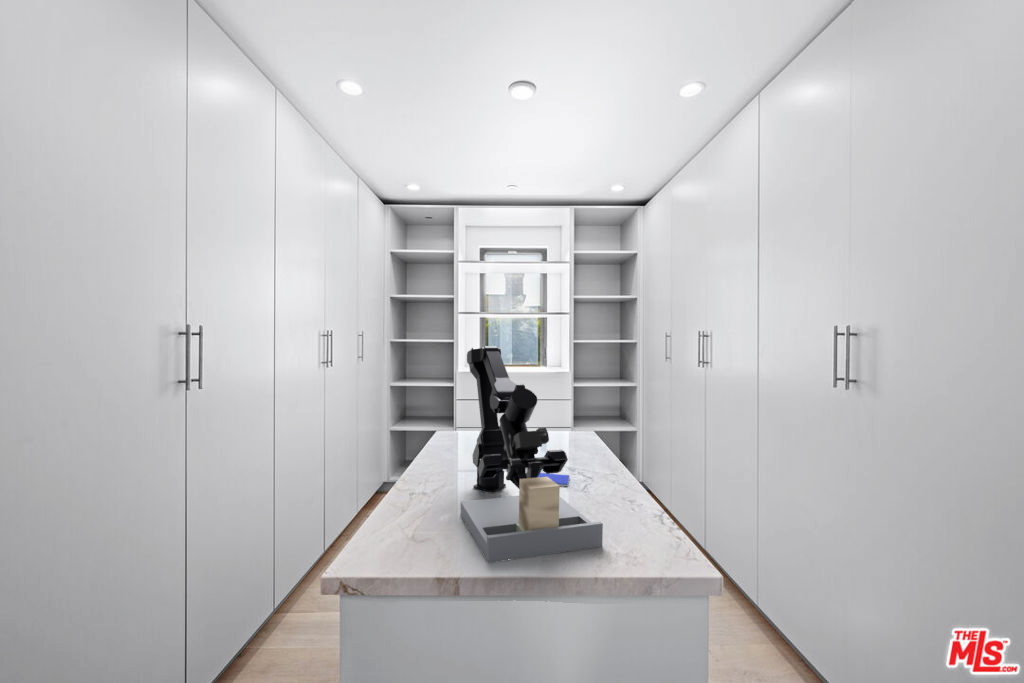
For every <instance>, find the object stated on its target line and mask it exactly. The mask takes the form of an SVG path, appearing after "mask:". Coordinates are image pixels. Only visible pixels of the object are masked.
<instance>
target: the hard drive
mask: <svg viewBox="0 0 1024 683" xmlns="http://www.w3.org/2000/svg"><path fill="white" fill-rule="evenodd" d="M526 473H527V472H526ZM538 477H548V478H550V479H551V480H552V481H554V482H555V483H556V484H558V485H559V486H560V487H561V486H567V487H568V486H569V482H570V475H568V474H560V473H550V474H547V473H545V472H540V474H539V476H538ZM568 481H569V482H568Z"/></svg>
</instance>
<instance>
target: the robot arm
mask: <svg viewBox="0 0 1024 683" xmlns="http://www.w3.org/2000/svg"><path fill="white" fill-rule="evenodd" d="M466 363H467V364H468V366H469V373H471V374H472V375H473V377H474V378H475V379H476V386H477V397H478V405H479V406H478V408H479V415H480V425H481V430H480V432H479V435H478V436H477V439H476V444H475V447H474V449H473V453H472V464H474V466H475V467H476V484H474V485H472V486H473V489H477V490H481V491H485V492H491V493H494V492H496V491H498V490H500V489H503V488H505V487H506V486H507V484H506V483H505V480H506V481H510V482H511V483H512V484H514V485H515V487H516V488H517V489H519V484H520V479H526V478H537V477H538V476H539V474H540V473H542V472H543V473H547V474H559V473H560V472H562V470H563V468H564V467H565V465H566V463H567V462H568V460H569V459H568V455H567V453H566V452H565V450H563V449H552V450H551V449H550V450H547V451H546V452H545V455H544V456H543V457H542V456H541V457H540V456H539V457H536V456H535V455H537V454H538V453H539V448H541V447H543V445H546V444H547V443H548V442H550V437H549V432H548V430H547V428H546V427H538V428H536V429H535V430H528V427H527V423H528V422H529V421H530V419H531V417H532V414H533V413H534V410H535V408H536V406H537V403H538V397H537V394H535V393H534V392H533V391H532V390H530V389H528V388H526V386H525V384H517V383H515V382H514V381H512V380H511V379H510V376H509V374H508V372H507V369H506V365H505V363H504V361H503V358H502V351H501V347H498V346H495V345H494V346H491V345H490V346H486V345H485V346H482V347H471V349H470V350H468V351H467V354H466ZM498 414H502V415H501V416H500V418H499V419H498V417H499V416H498ZM505 472H506V476H505ZM526 472H527V473H526Z"/></svg>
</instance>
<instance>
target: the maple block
mask: <svg viewBox="0 0 1024 683" xmlns="http://www.w3.org/2000/svg"><path fill="white" fill-rule="evenodd" d="M560 487H561V486H559V485H558V484H556V483H555V482H554V481H552V480H551V479H550V478H548V477H537V478H526V479H520V484H519V488H518V490H519V495H518V496H519V525H520V526H521V527H522V528H523V529H524V531H528V530H536V529H544V528H552V527H559V496H560Z"/></svg>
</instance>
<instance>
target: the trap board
mask: <svg viewBox="0 0 1024 683" xmlns="http://www.w3.org/2000/svg"><path fill="white" fill-rule="evenodd" d="M461 516H462V517H461ZM460 517H461V518H462V520H463V522H464V521H465V522H464V523H466V524H465V525H466V528H467V529H468V528H469V529H468V531H469V530H470V531H469V532H470V534H471V533H472V534H471V536H472V535H473V536H472V537H473V539H474V541H475V540H476V541H475V543H476V542H477V543H476V545H477V546H478V548H479V549H481V550H480V551H481V553H482V555H483V554H484V555H483V557H484V556H485V557H484V558H485V560H486V562H487V561H488V562H487V563H488V564H489V563H490V562H491V563H497V562H496V561H498V562H503V561H502V560H505V561H509V560H508V559H512V560H519V559H525V558H532V557H539V556H546V555H553V554H554V555H555V554H558V553H559V554H561V553H566V552H567V551H568V552H574V551H581V550H586V549H587V550H588V549H595V548H601V547H603V533H604V532H603V531H604V530H603V529H604V526H603V525H604V524H603V522H602V521H593V522H592V521H591V520H590V519H588V518H587V517H586V516H584V514H582V513H581V512H580V511H578V510H577V509H576V508H575V507H573V506H572V505H571V504H570V503H568V502H567V501H566V500H565V499H563V498H562V497H561V496H560V495H559V527H552V528H544V529H536V530H528V531H524V529H523V528H522V527H521V526H520V525H519V495H517V496H516V495H514V496H505V497H496V498H494V497H493V498H484V499H473V500H463V501H460ZM560 552H561V553H560ZM568 552H567V553H568ZM518 558H519V559H518ZM491 563H490V564H491Z"/></svg>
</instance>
